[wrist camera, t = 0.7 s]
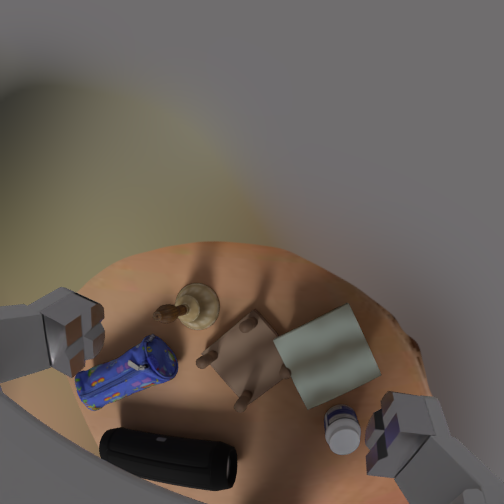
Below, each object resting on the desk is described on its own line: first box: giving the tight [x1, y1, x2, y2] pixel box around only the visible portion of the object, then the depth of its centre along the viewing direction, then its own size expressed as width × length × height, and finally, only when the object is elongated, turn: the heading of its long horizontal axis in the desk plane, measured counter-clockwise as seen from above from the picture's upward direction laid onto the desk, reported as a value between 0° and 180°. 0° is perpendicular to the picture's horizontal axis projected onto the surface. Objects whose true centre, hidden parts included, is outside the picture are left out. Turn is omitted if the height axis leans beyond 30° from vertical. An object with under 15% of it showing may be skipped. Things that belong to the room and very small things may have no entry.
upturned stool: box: [196, 309, 292, 412], centre depth 50 cm, size 12×12×8 cm
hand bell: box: [153, 283, 220, 330], centre depth 49 cm, size 8×8×16 cm
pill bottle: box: [324, 405, 361, 455], centre depth 45 cm, size 6×6×10 cm
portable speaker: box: [99, 427, 237, 491], centre depth 50 cm, size 26×10×10 cm, turn 93°
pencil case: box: [75, 334, 178, 411], centre depth 53 cm, size 22×9×10 cm, turn 119°
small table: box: [273, 303, 381, 410], centre depth 48 cm, size 12×12×8 cm
